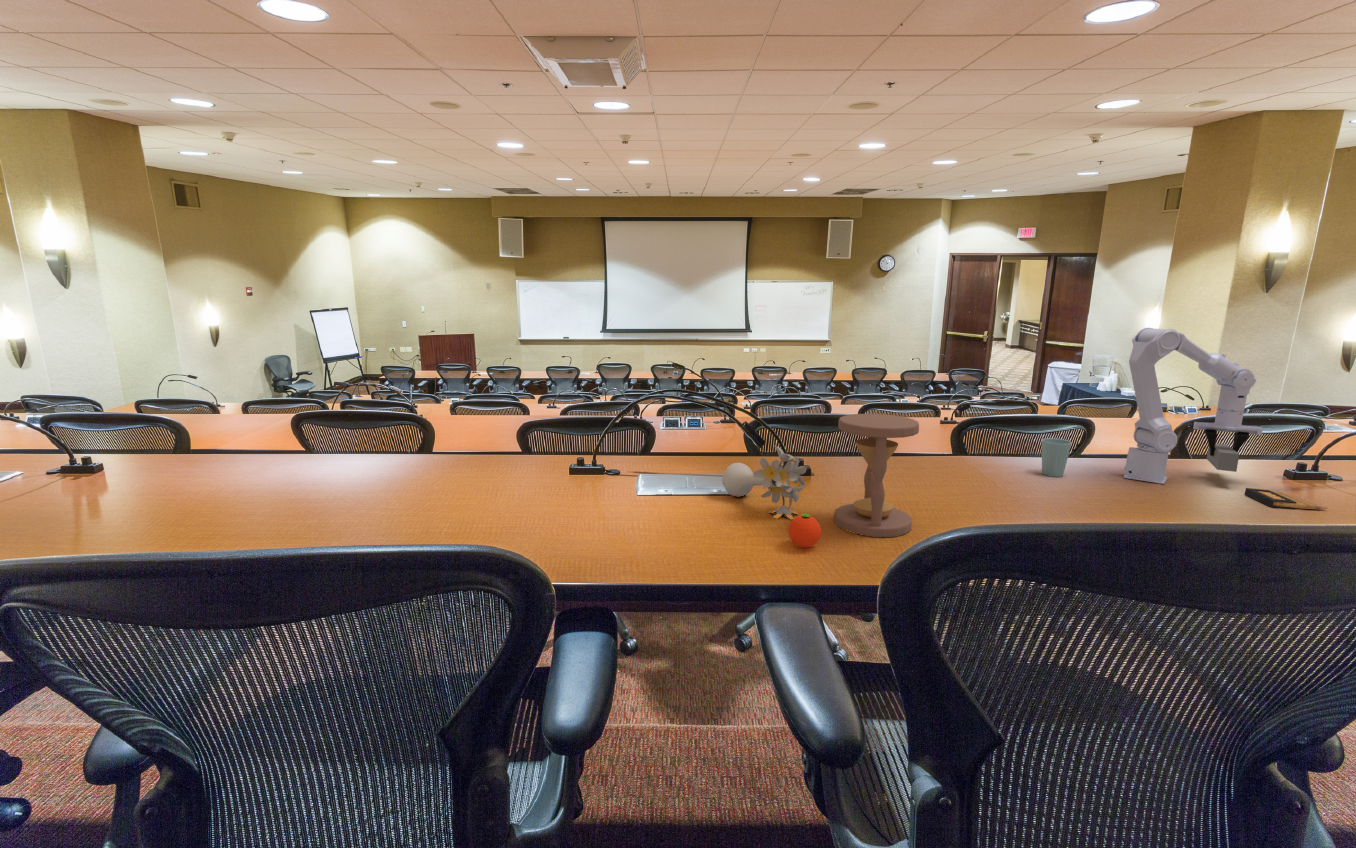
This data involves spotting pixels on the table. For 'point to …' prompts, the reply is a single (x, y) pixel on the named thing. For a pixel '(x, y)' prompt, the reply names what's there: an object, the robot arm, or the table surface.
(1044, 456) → the cup
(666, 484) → the table surface
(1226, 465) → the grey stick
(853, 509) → the hourglass
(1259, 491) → the ammunition clip
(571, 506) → the table surface
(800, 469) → the flower vase
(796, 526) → the clementine
